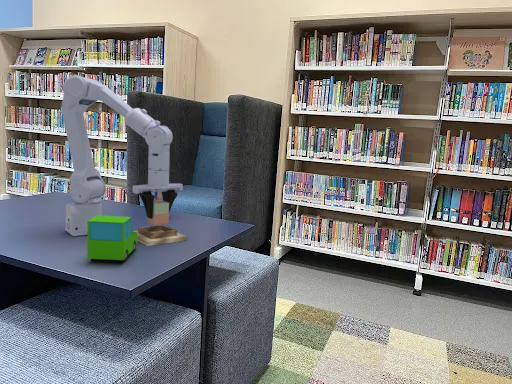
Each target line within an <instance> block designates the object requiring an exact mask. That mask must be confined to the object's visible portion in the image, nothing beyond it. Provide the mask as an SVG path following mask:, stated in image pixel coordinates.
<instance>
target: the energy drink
mask: <svg viewBox="0 0 512 384" xmlns="http://www.w3.org/2000/svg"><path fill="white" fill-rule="evenodd" d="M169 184H171V183H170V182H169ZM154 190H163V189H154ZM154 196H155V198H154V201H155V200H163V197H162V192H154ZM170 213H171V212H170ZM170 213H169V218H170V216H171V214H170Z"/></svg>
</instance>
